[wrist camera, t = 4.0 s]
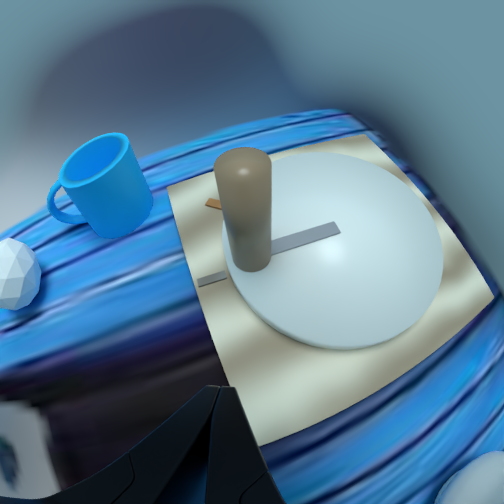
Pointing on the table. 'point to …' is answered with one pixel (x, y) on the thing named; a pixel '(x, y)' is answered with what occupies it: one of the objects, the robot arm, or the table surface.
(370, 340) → the dial
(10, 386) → the table surface
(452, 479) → the flower vase
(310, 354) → the dial board
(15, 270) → the ball
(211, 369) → the table surface
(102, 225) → the mug
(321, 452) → the table surface
